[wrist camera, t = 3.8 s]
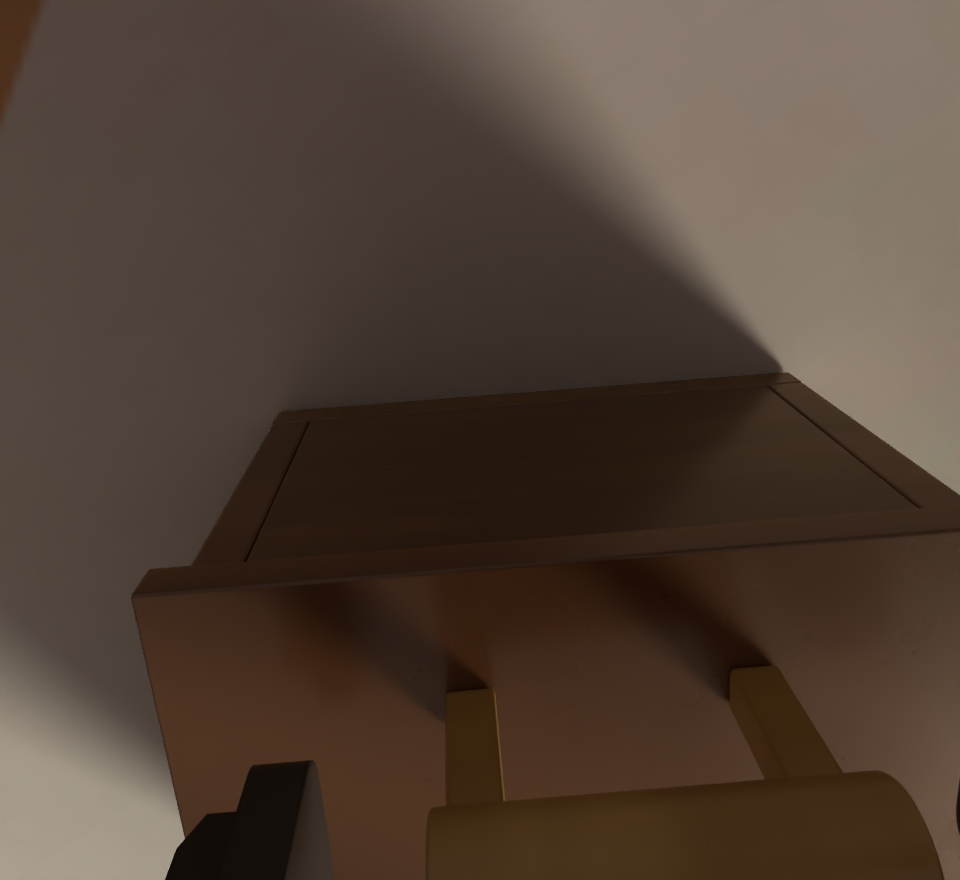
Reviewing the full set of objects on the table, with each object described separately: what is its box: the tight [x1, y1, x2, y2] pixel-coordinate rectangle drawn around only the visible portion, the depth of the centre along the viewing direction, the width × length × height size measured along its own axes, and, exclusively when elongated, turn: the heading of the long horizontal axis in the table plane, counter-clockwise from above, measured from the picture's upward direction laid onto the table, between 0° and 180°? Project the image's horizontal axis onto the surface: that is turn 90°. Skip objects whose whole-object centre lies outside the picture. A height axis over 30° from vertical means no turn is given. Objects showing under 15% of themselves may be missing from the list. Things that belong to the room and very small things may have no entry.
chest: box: [191, 373, 960, 566], centre depth 20 cm, size 16×13×10 cm
